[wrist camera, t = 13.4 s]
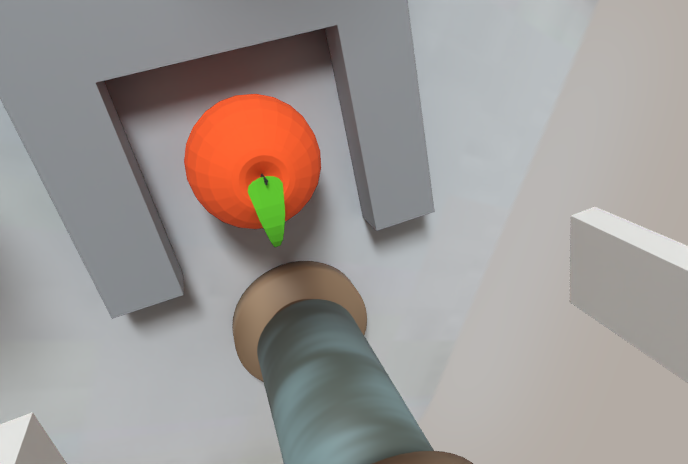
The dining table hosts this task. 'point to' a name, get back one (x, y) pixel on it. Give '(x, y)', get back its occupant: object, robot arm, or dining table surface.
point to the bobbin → (324, 372)
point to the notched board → (174, 47)
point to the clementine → (253, 163)
